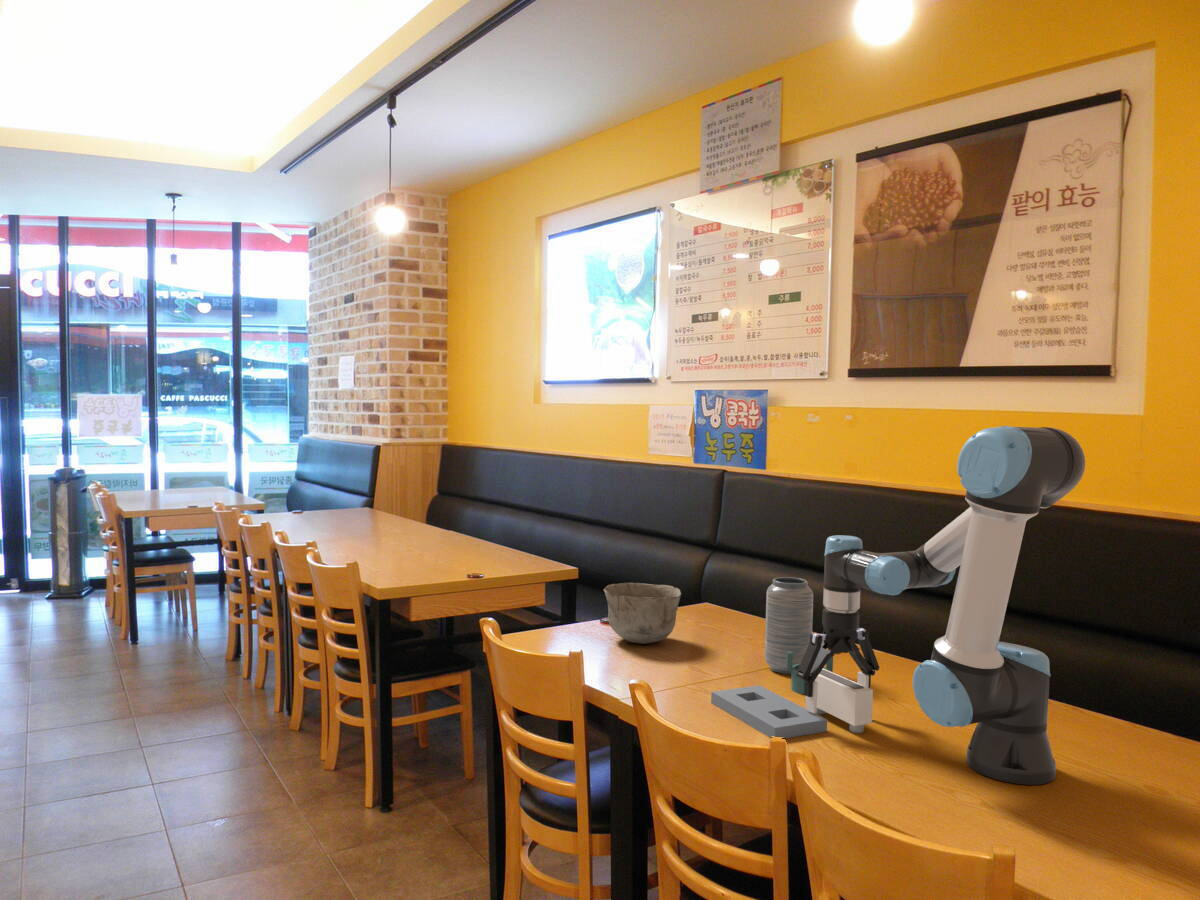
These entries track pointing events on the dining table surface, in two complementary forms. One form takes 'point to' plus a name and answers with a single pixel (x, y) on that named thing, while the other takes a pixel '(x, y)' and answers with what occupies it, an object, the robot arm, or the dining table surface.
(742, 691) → the board
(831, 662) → the bracket
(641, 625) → the bowl
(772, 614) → the vase
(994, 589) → the robot arm
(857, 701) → the block
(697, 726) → the dining table surface
